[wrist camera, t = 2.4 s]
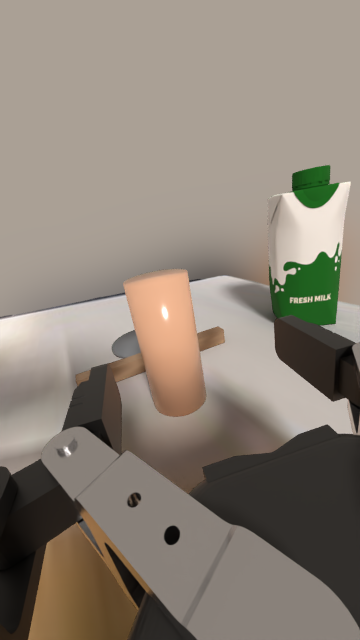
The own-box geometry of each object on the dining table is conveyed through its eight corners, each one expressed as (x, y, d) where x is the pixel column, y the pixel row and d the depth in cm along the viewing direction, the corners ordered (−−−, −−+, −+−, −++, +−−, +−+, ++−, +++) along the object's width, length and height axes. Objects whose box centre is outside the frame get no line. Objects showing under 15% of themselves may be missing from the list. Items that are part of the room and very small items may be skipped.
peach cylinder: (145, 413, 25) (110, 289, 20) (164, 379, 30) (140, 272, 25) (199, 419, 23) (175, 283, 18) (210, 381, 28) (194, 266, 23)
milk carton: (279, 332, 35) (277, 174, 28) (266, 310, 44) (261, 183, 36) (346, 326, 34) (362, 157, 26) (319, 304, 42) (325, 171, 35)
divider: (81, 394, 29) (75, 381, 29) (80, 388, 31) (75, 374, 30) (224, 342, 35) (223, 329, 35) (219, 338, 37) (217, 326, 36)
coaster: (99, 358, 37) (99, 355, 37) (130, 329, 46) (130, 327, 46) (160, 359, 34) (160, 357, 34) (181, 327, 43) (181, 325, 42)
